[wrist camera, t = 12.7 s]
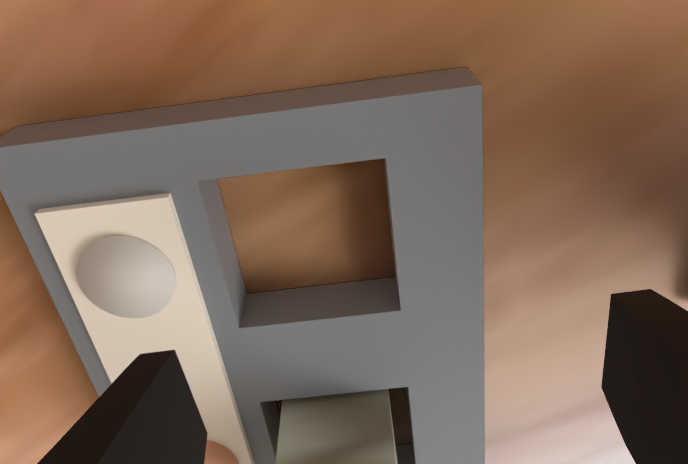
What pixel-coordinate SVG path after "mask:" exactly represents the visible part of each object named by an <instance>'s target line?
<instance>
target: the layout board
mask: <svg viewBox="0 0 688 464" xmlns="http://www.w3.org/2000/svg"><path fill="white" fill-rule="evenodd" d="M382 158H383V159H384V169H385V179H386V189H387V199H388V209H389V219H390V229H391V239H392V249H393V259H394V269H395V277H390V278H381V279H372V280H363V281H354V282H346V283H337V284H328V285H319V286H310V287H301V288H293V289H284V290H275V291H266V292H257V293H249V294H247V292H246V288H245V284H244V280H243V277H242V273H241V269H240V265H239V261H238V258H237V254H236V250H235V246H234V242H233V239H232V235H231V231H230V227H229V223H228V219H227V216H226V212H225V208H224V204H223V200H222V197H221V193H220V189H219V185H218V181H217V179H221V178H229V177H237V176H245V175H253V174H261V173H269V172H277V171H285V170H293V169H302V168H310V167H318V166H326V165H334V164H342V163H350V162H358V161H366V160H374V159H382ZM0 191H1V193H2V195H3V197H4V199H5V201H6V203H7V206H8V208H9V210H10V212H11V214H12V216H13V218H14V220H15V222H16V224H17V227H18V229H19V231H20V233H21V235H22V237H23V239H24V241H25V243H26V245H27V248H28V250H29V252H30V254H31V256H32V258H33V260H34V262H35V264H36V266H37V268H38V271H39V273H40V275H41V277H42V279H43V281H44V283H45V285H46V287H47V289H48V292H49V294H50V296H51V298H52V300H53V302H54V304H55V306H56V308H57V310H58V313H59V315H60V317H61V319H62V321H63V323H64V325H65V327H66V329H67V331H68V334H69V336H70V338H71V340H72V342H73V344H74V346H75V348H76V350H77V352H78V355H79V357H80V359H81V361H82V363H83V365H84V367H85V369H86V371H87V373H88V376H89V378H90V380H91V382H92V384H93V386H94V388H95V390H96V392H97V394H98V396H99V397H100V396H101V395H102V394H103V393H104V392H105V390H106V389H107V388H108V387H109V386H110V385H111V384H112V383H113V382H114V381H115V379H116V378H117V377H118V376H119V375H120V374H121V373H122V372H123V371H124V370H125V369H126V368H127V367H128V366H129V365H130V363H131V362H132V361H133V360H134V359H135V358H136V357H137V356H138V355H139V354H144V353H151V352H159V351H167V350H175V351H176V354H177V356H178V359H179V362H180V364H181V367H182V369H183V372H184V374H185V377H186V379H187V382H188V384H189V387H190V390H191V392H192V395H193V397H194V400H195V402H196V405H197V407H198V410H199V412H200V415H201V418H202V420H203V423H204V425H205V428H206V430H207V433H208V434H207V443H206V452H205V461H204V464H275V463H276V454H277V445H278V436H279V426H280V417H279V414H278V410H277V406H276V402H275V401H276V400H285V399H295V398H305V397H315V396H324V395H334V394H344V393H353V392H363V391H373V390H382V389H392V388H402V387H406V388H407V398H408V408H409V418H410V428H411V438H412V444H405V445H396V453H397V462H398V464H485V424H484V275H483V126H482V84H481V83H480V82H479V80H478V79H477V78H476V77H475V76H474V74H473V73H472V72H471V71H470V70H469V69H468V67H462V68H454V69H447V70H439V71H432V72H424V73H417V74H409V75H401V76H394V77H386V78H379V79H371V80H363V81H356V82H348V83H341V84H333V85H326V86H318V87H310V88H303V89H295V90H288V91H280V92H273V93H265V94H257V95H250V96H242V97H235V98H227V99H219V100H212V101H204V102H197V103H189V104H182V105H174V106H166V107H159V108H151V109H144V110H136V111H128V112H121V113H113V114H106V115H98V116H91V117H83V118H75V119H68V120H60V121H53V122H45V123H38V124H30V125H22V126H16V127H14V128H13V129H11V130H10V131H8V132H7V133H5V134H4V135H2V136H1V137H0Z"/></svg>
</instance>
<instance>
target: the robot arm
mask: <svg viewBox="0 0 688 464" xmlns="http://www.w3.org/2000/svg"><path fill="white" fill-rule="evenodd" d="M602 389H603V392H604V394H605V397H606V399H607V402H608V404H609V407H610V409H611V412H612V414H613V417H614V419H615V421H616V424H617V426H618V428H619V430H620V433H621V435H622V437H623V440H624V442H625V444H626V446H627V448H628V450H629V452H630V454H631V455H632V457H633V459H634V461H635V463H636V464H688V311H686V310H685V309H683V308H682V307H680V306H678V305H677V304H675V303H673V302H672V301H670V300H668V299H667V298H665V297H663V296H662V295H660V294H658V293H656V292H654V291H653V290H651V289H647V290H640V291H632V292H624V293H616V294H611V301H610V310H609V320H608V330H607V339H606V349H605V358H604V368H603V378H602ZM207 434H208V433H207V430H206V428H205V425H204V423H203V420H202V418H201V415H200V412H199V410H198V407H197V405H196V402H195V400H194V397H193V395H192V392H191V390H190V387H189V384H188V382H187V379H186V377H185V374H184V372H183V369H182V367H181V364H180V362H179V359H178V356H177V354H176V351H175V350H167V351H159V352H151V353H144V354H139V355H138V356H137V357H136V358H135V359H134V360H133V361H132V362H131V363H130V365H129V366H128V367H127V368H126V369H125V370H124V371H123V372H122V373H121V374H120V375H119V376H118V377H117V378H116V379H115V381H114V382H113V383H112V384H111V385H110V386H109V387H108V388H107V389H106V390H105V392H104V393H103V394H102V395H101V396H100V397H99V398H98V399H97V400H96V401H95V403H94V404H93V405H92V406H91V407H90V408H89V409H88V410H87V411H86V412H85V413H84V415H83V416H82V417H81V418H80V419H79V420H78V421H77V422H76V423H75V424H74V425H73V426H72V427H71V429H70V430H69V431H68V432H67V433H66V434H65V435H64V436H63V437H62V438H61V439H60V440H59V441H58V442H57V444H56V445H55V446H54V447H53V448H52V449H51V450H50V451H49V452H48V453H47V454H46V455H45V456H44V457H43V458H42V459H41V460H40V461H39V462H38V463H37V464H204V461H205V452H206V443H207Z"/></svg>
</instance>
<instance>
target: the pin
mask: <svg viewBox="0 0 688 464" xmlns="http://www.w3.org/2000/svg"><path fill="white" fill-rule="evenodd" d="M275 464H398V462H397V453H396V444H395V435H394V426H393V419H392V411H391V404H390V396H389V389H382V390H373V391H363V392H353V393H344V394H334V395H324V396H315V397H305V398H295V399H285V400H282V408H281V417H280V426H279V436H278V445H277V454H276V463H275Z"/></svg>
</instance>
